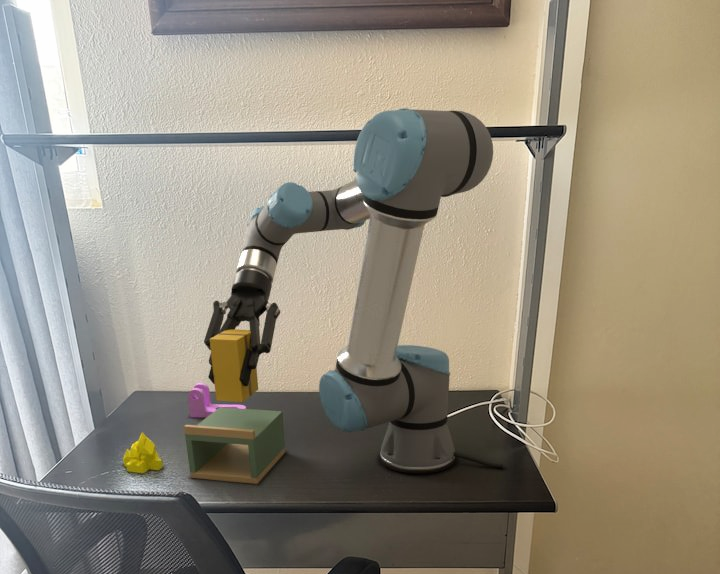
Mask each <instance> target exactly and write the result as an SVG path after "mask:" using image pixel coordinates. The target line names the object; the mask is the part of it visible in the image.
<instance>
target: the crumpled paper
mask: <svg viewBox="0 0 720 574" xmlns="http://www.w3.org/2000/svg"><path fill="white" fill-rule="evenodd" d="M156 449H157V448H156V445H155V443H154V442H153V441H152V440H151V439H150V438H149V437H147V436H146V435H145V433H144V432H143V431H142V432H141V433H140V436H139V438H138V440H137V441H134V443H133V444H131V447H130V449H128V448H126V450H125V452H124V455H123V458H122V462H123V466H124V467H126V471H127V472H130V473H136V474H137V473H138V474H145V473H146V472H147V471H150V470H154V471H160V470H161V469H163V468H164V467H163V466H164V464H163V459H161V457H160V456H159V454H158V452H159V451H157V450H156Z"/></svg>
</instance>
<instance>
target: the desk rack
mask: <svg viewBox="0 0 720 574" xmlns="http://www.w3.org/2000/svg"><path fill="white" fill-rule="evenodd" d="M183 430H184V436H185V445H186V453H187V459H188V460H187V461H188V466H189V467H188V469H189V475H190V479H201V480H212V481H221V482H232V483H242V484H243V483H244V484H252V485H253V484H254V485H258V484H259V483H260V482H261V481H262V479H263V478H264V477H265V476H266V475H267V474H268V473H269V471H270V470H271V469H272V468H273V467H274V466H275V465H276V464H277V462H278V461H279V460H280V459H281V458H282V456H283V455H285V453H286V446H285V445H286V444H285V429H284V414H283V411H280V410H266V409H255V408H253V409H251V408H246V409H239V408H225V407H220V408H218V409H217V410H216V411H214V412H213V413H212V414H211V415H209V416H208V417H204V418H203V420H201V421H200V422H199V423H198V424H185V425H184V426H183Z"/></svg>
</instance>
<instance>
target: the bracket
mask: <svg viewBox="0 0 720 574" xmlns="http://www.w3.org/2000/svg"><path fill="white" fill-rule="evenodd" d="M210 392H211V391H210V388H209V386H208V385H207V384H206V383H203V382H198V383H196V384H195V385H194V386H193V388H192V389H190V391H189V392H188V394H187V401H188V408H189V416H190V418H207V417H208V416H209V415H211V414H212V413H213V412H214V411H216V410H217V409H218V408H220V407H225V408H239V409H247V406H246V405H243V404H216V403H214V404H213V403H212V402H211V393H210Z"/></svg>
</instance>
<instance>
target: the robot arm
mask: <svg viewBox="0 0 720 574" xmlns="http://www.w3.org/2000/svg"><path fill="white" fill-rule="evenodd" d="M359 132H360V133H359V135H358V137H357V139H356V142H355V145H354V150H353V155H352V170H353V172H354V173H355V175H354V180H352V181H349V182H347V183H345V184H344V185H342V186H339V187H337V188H335V189H331V190H330V189H329V190H312V191H308V190H307V189H306V188H305V187H304V186H303V185H299V184H297V183H296V182H292V181H291V182H289V181H288V182H285V183H283V184H281V185H280V186H279V187H278V188H277V189H276V190H275V191H274V192H273V193H272V194H271V195H270V196H269V198H268V200H267V202H266V203H265V204H264V205H262V206H260V207H256V208H254V210H253V211H252V213H251V216H250V217H249V218H250V219H249V220H248V222H247V224H246V225H247V228H246V232H245V237H244V240H243V243H242V250H241V252H240V256H239V259H238V263H237V266H236V270H235V275H234V278H233V281H232V285H231V293H230V296H229V297H228V298H227V299H226V301H222V302H221V301H219V300H214V301H213V303H212V307H213V311H212V315H211V318H210V320H209V325H208V327H207V331H206V333H205V336H204V340H203V343H204V345H205V346H206V347H207V349H208V350H209V351H211V348H210V338H212V337H214V336H216V335H217V334H219V333H221V332H223V331H226V330H229V329H236V328H237V327H239V326H240V324H241V323H242V322H248V323H249V324H248V325H249V330H250V332H251V334H250V339H251V345H250V347H251V348H252V350H251V349H247V350H246V354H245V358H244V362H243V366H242V370H241V374H240V378H239V380H240V381H241V383H242V384H243V385H244V386H248V383H249V379H250V375H251V371H252V369H256V367H258V363H259V360H260V356H261V355H262V354H264V353H265V354H269V353H270V352H271V351H272V346H273V345H272V344H273V340H274V333H275V329H276V322H277V319H278V318H279V316H280V314H281V309H280V307H279V305H278V303H276V302H272V303H270V302H269V299H270V296H271V291H272V288H273V287H272V286H273V285H272V284H273V283H274V278H275V274H276V270H277V265H278V262H279V258H280V254H281V252H282V251H281V250H282V248H283V247H284V246H285V244H286V243H288V242H289V240H290V239H291V238H292V237H293V236H294V235H296V234H305V233H317V232H325V231H327V232H328V231H337V230H344V231H348V230H352V229H355V228H356V229H358V228H360V227H362V226H364V225H365V223H366V221H367V220H368V227H367V232H366V238H365V243H364V249H363V256H362V261H361V268H360V274H359V280H358V284H357V290H356V295H355V296H356V297H355V302H354V308H353V314H352V321H351V327H350V332H349V337H348V343H347V344H348V345H347V346H345V347H342V348H341V349H340V350H339V352H338V353H337V357H336V362H335V368H334V370H331V369H330V370H328V371H326V372H325V373H324V374H322V375H321V377H320V379H319V384H318V393H319V399H320V403H321V406H322V408H323V411H324V413H325V415H326V416H327V418H328V420H329V421H330V423H331V424H332V425H333V426H334V427H335V428H337V430H339V431H341V432H344V433H354V432H358V431H360V432H362V431H365V430H367V429H370V428H373V427H376V426H380V425H384V424H386V423H388V426H387V429H386V432H385V435H384V437H383V441H382V444H381V447H380V452H379V454H380V456H379V457H380V463H381V464H382V465H383V466H385V467H386V468H388V469H389V470H393V471H395V472H399V473H405V474H410V475H411V474H412V475H413V474H414V475H425V474H434V473H438V472H443V471H445V470H447V469H449V468H451V467H452V466H453V465H454V464H455V462H456V458H459V459H463V460H467V461H470V462H473V463H476V464H480V465H483V466H486V467H490V468H495V469H496V468H497V469H504V463H500V462H492V461H489V460H485V459H482V458H479V457H475V456H472V455H469V454H465V453H460V452H457V451H456V449H455V445H454V441H453V438H452V435H451V432H450V429H449V425H448V413H449V410H448V409H449V392H450V376H451V372H450V359H449V355H448V354H447V353H446V352H445V351H443V350H440V349H437V348H434V347H429V346H422V345H415V344H414V345H412V344H400V345H399V342H400V337H401V333H402V328H403V324H404V319H405V314H406V310H407V305H408V302H409V296H410V292H411V287H412V283H413V278H414V275H415V270H416V264H417V260H418V256H419V251H420V248H421V247H420V246H421V242H422V238H423V234H424V230H425V226H426V224H428V223H429V222H431V221H432V220H435V218H436V217H437V215H438V211H439V207H440V203H441V199H442V198H448V197H451V196H453V195H456V194H462V193H467V192H469V191H471V190H473V189H475V188H476V187H477V186H479V185H480V184H481V183H482V182H483V181H484V179H485V178H486V176H487V175H488V173H489V171H490V169H491V167H492V163H493V158H494V144H493V139H492V136H491V134H490V131H489V130H488V128H487V127H486V125H485V124H484V123H483V121H481V119H479V118H478V117H476V116H475V115H474V114H471V113H468V112H465V111H463V110H436V109H435V110H433V109H413V108H411V109H410V108H408V107H404V108H399V109H394V110H383V111H381V112H378V113H376V114H375V115H374V116H373V117H372V118H371V119H369V120H367V122H366V123H365V124H364V126H363V127H362V128H361V131H359ZM228 309H229V311H228V313H227V310H228ZM265 312H266V314H265V320H264V324H263V330H262V334H261V333H260V332H261V331H260V326H261V324H260V323H261V321H260V317H261V316H262V315H263V314H264V313H265ZM225 315H226V319H225V321H224V318H225ZM223 322H224V323H223ZM208 365H210V369H209V373H208V375H207V376H208V377H207V378H208V379H209V381H210V382H211V383H212V384H213V385H215V384H214V375H213V366H212V357H211V353H210V354H209V358H208Z"/></svg>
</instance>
